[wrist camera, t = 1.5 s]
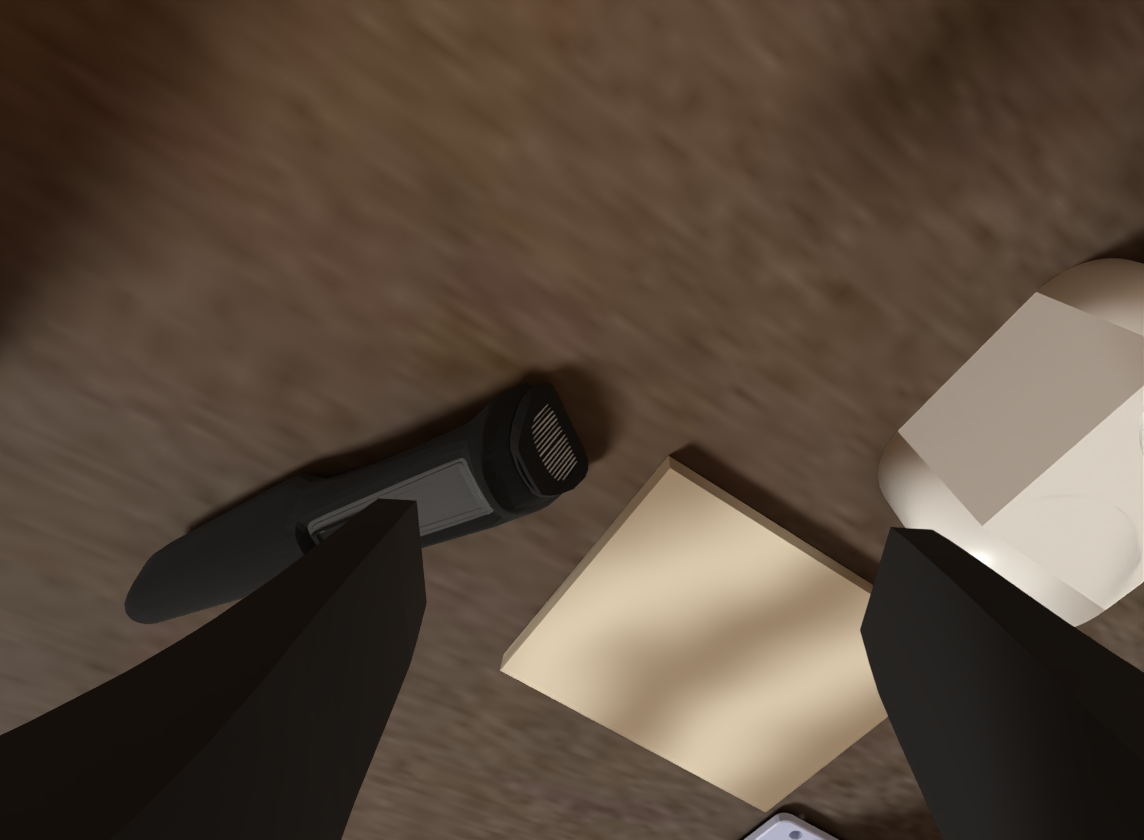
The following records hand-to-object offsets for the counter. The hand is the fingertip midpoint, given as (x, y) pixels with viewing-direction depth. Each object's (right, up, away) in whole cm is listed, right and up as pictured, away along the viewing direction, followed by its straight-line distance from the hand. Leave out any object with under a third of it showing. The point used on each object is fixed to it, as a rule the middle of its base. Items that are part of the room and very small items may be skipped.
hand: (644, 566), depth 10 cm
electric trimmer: (-8, 0, +12) cm, 14 cm away
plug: (+12, +3, +8) cm, 15 cm away
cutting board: (+4, -6, +13) cm, 15 cm away
